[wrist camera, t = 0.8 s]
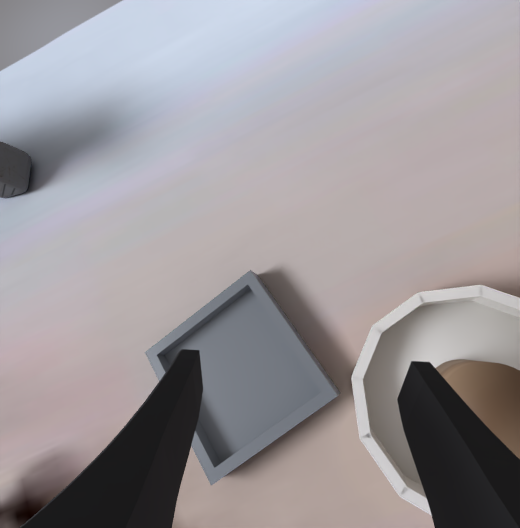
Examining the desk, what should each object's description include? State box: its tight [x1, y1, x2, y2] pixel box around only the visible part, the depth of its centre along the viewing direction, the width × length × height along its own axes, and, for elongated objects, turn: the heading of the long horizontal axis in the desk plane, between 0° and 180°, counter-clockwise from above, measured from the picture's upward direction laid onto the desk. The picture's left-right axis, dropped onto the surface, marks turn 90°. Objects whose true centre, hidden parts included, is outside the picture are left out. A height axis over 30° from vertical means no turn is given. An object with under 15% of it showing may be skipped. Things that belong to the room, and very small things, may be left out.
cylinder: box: [436, 359, 520, 459], centre depth 20 cm, size 5×5×6 cm
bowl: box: [351, 285, 520, 516], centre depth 22 cm, size 14×14×2 cm
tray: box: [145, 270, 340, 485], centre depth 27 cm, size 11×11×2 cm
